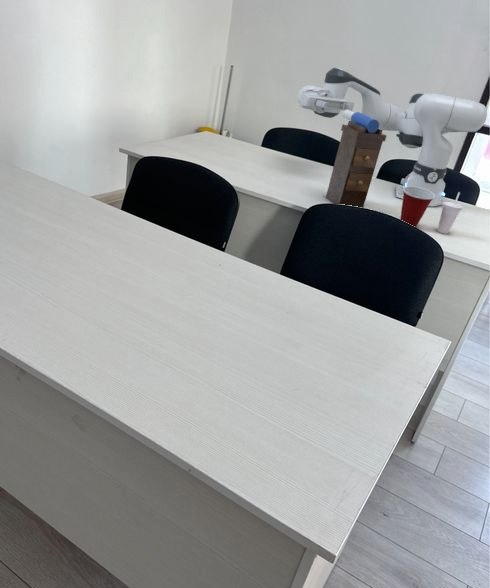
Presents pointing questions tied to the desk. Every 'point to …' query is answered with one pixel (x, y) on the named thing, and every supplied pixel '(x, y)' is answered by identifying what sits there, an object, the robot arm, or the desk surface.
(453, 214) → the smoothie
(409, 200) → the plastic cup
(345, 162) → the bedside cabinet
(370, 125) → the bottle
